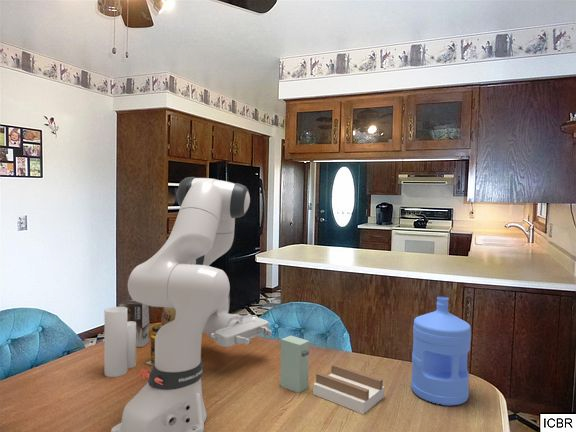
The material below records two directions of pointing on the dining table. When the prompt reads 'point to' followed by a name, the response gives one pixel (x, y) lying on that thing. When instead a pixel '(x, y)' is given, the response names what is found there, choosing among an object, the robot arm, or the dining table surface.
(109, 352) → the vase
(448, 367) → the water jug
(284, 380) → the sage cabinet
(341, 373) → the cleat board
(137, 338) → the coffee box
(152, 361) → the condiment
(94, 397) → the dining table surface
